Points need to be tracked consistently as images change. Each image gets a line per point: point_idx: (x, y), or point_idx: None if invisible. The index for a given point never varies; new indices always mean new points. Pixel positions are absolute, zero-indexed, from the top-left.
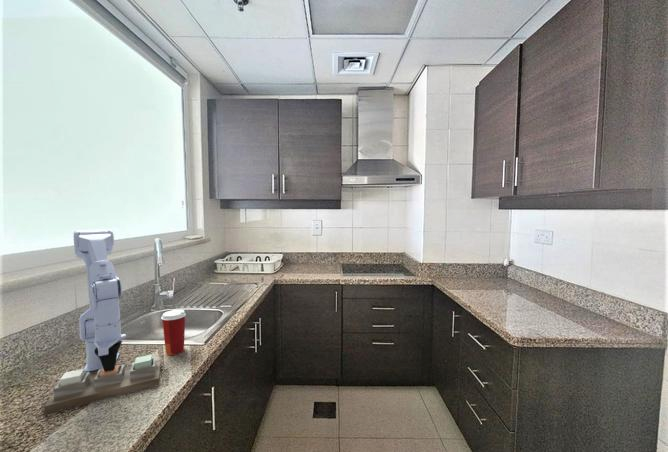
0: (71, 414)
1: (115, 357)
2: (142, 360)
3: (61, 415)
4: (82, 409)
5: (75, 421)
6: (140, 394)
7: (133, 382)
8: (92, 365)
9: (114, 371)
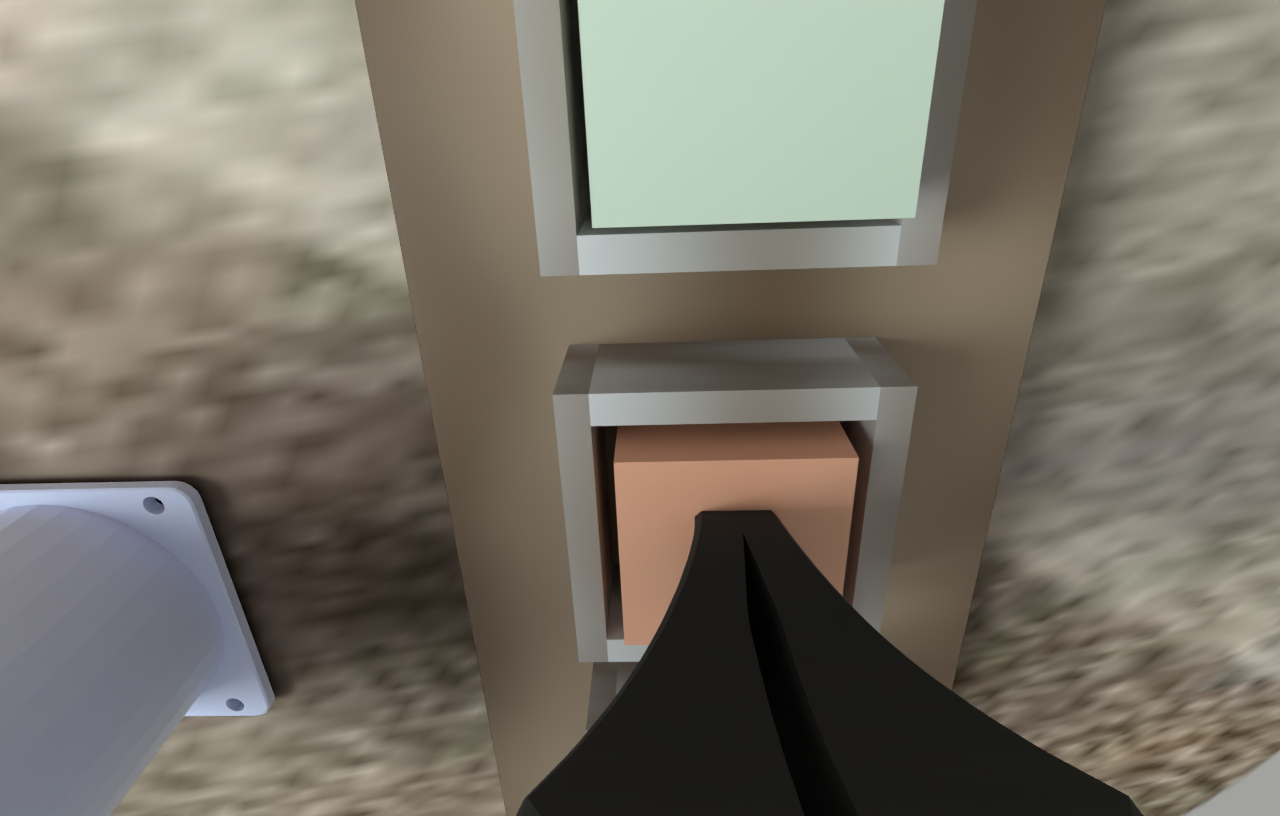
0: (1048, 620)
1: (894, 646)
2: (849, 52)
3: (1005, 674)
4: (1025, 567)
5: (1201, 573)
6: (1161, 53)
7: (999, 176)
8: (201, 683)
9: (843, 492)
